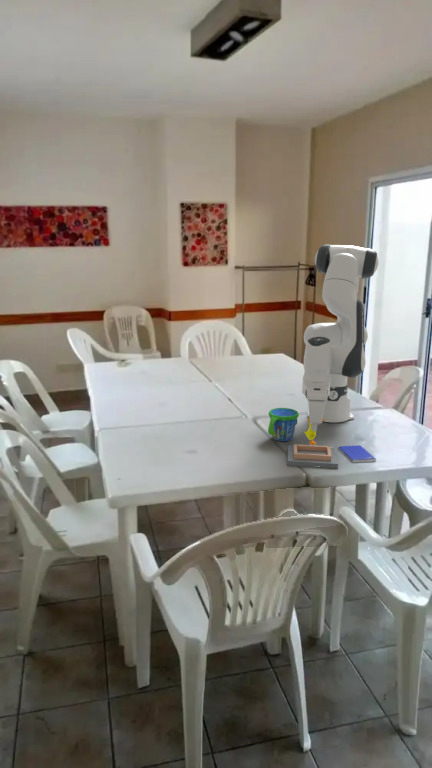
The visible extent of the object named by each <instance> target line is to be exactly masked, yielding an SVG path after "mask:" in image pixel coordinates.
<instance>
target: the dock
mask: <svg viewBox="0 0 432 768" xmlns="http://www.w3.org/2000/svg"><path fill="white" fill-rule="evenodd" d="M337 456H338V455H337V451H336V448H335V447H331V446H330V445H317V444H315V445H312V444H295V443H294V444H293V445H287V462H286V465H287V466H292V467H293V466H294V467H295V466H296V467H308V466H320V467H319V468H325V467H332V468H331V469H339V462H338V457H337Z"/></svg>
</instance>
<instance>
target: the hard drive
mask: <svg viewBox="0 0 432 768" xmlns="http://www.w3.org/2000/svg"><path fill="white" fill-rule="evenodd" d="M338 450H339V451H340V452H341V453H342V454H343V455H344V457H346V458H347V459H348V460H349V461H350V462H351V463H353V464H354V463H366V462H367V463H369V462H370V463H371V462H376V461H377V459H376V457H375V456H374V455H372V454H371V453H370V452H369V451H368V450H366V449H365V448H364V447H363V446H362V445H340V446H338Z"/></svg>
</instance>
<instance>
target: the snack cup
mask: <svg viewBox="0 0 432 768" xmlns="http://www.w3.org/2000/svg"><path fill="white" fill-rule="evenodd" d="M268 416H269V424H268V428H267V431H268V432H267V433H268V435H269V436H270V435H271V436H272V439H274V440H276V441H279V442H289V441H292V440H293V439H294V435H295V430H296V425H297V424H298V418H299V412H298V411H297V410H296V409H292V408H288V407H276V408H271V409H270V410H269V411H268Z"/></svg>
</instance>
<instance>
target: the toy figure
mask: <svg viewBox="0 0 432 768" xmlns="http://www.w3.org/2000/svg"><path fill="white" fill-rule="evenodd" d="M324 420H325V419H324V418H323V420H322V423H323V422H324ZM307 422H308V425H309V427H308V429H307V430H306V431H304V430H303V433H304V434H305V436H306V438H307V439H308V440H309V442H308V443H309V445H317V443H316V441H315V438H316V437H317V431H312V430H311V425H312V424H311V423H310V418H309V417H308V418H307Z"/></svg>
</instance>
